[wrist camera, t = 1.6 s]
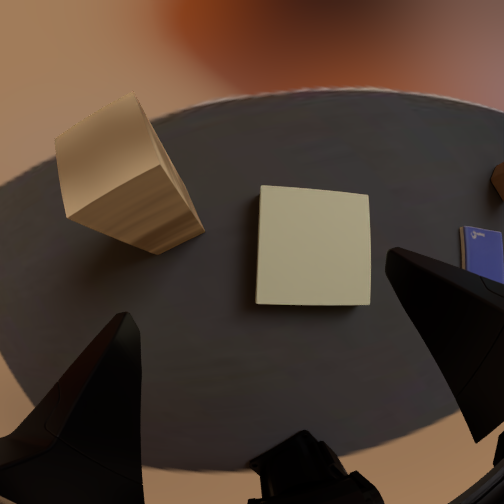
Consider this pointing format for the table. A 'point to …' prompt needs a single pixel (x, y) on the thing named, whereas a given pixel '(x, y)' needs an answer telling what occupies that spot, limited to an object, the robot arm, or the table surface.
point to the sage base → (313, 247)
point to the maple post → (124, 180)
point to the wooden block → (499, 179)
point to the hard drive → (482, 252)
